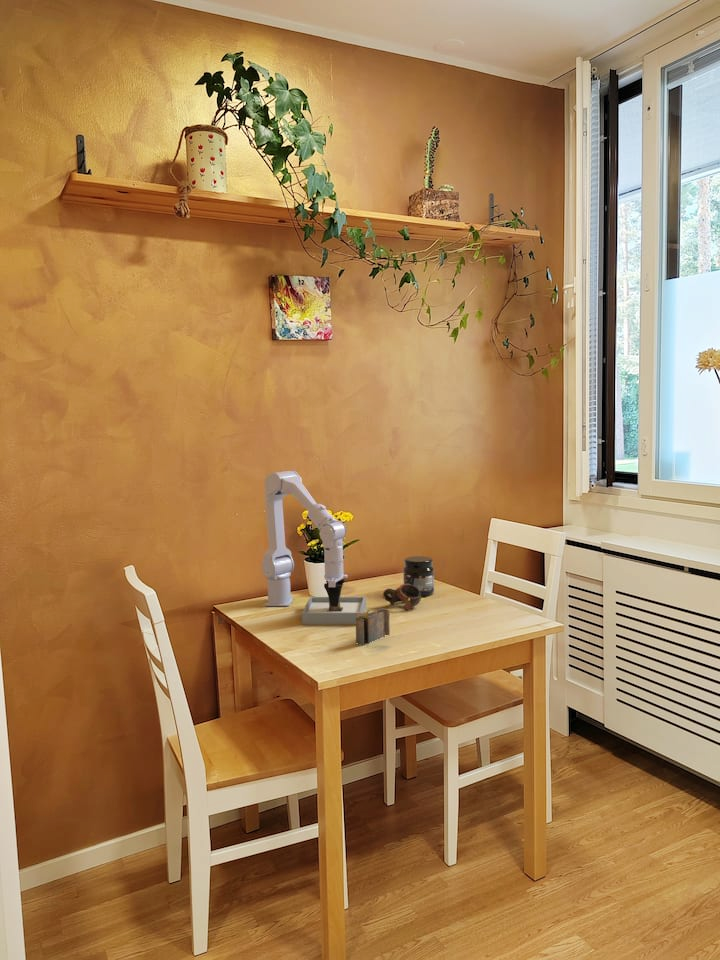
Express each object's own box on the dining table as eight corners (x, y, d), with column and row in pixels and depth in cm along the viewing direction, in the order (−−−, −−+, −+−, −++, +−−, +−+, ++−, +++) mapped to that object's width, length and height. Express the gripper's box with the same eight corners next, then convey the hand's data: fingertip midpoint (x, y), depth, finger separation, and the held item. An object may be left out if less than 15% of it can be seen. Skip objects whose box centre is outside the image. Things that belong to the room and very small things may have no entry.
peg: (329, 608, 228) (328, 589, 227) (340, 608, 228) (339, 589, 227) (328, 611, 224) (328, 592, 224) (340, 611, 224) (339, 592, 224)
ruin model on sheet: (364, 647, 198) (363, 612, 197) (356, 645, 200) (355, 610, 199) (390, 636, 207) (390, 603, 205) (382, 634, 209) (382, 601, 207)
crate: (310, 607, 236) (309, 596, 235) (366, 607, 235) (365, 596, 234) (302, 624, 218) (301, 613, 218) (362, 624, 217) (362, 613, 216)
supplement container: (406, 588, 257) (405, 555, 255) (436, 590, 254) (436, 556, 253) (400, 596, 246) (400, 561, 245) (432, 598, 244) (431, 562, 243)
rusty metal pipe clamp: (414, 602, 241) (422, 583, 237) (416, 622, 233) (424, 603, 229) (379, 595, 239) (386, 576, 235) (380, 615, 231) (387, 596, 227)
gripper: (344, 566, 217) (345, 611, 218) (348, 556, 231) (349, 598, 233) (321, 566, 217) (322, 611, 219) (326, 556, 232) (327, 598, 233)
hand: (335, 604), depth 226 cm, fingers closed on peg, 3 cm apart
